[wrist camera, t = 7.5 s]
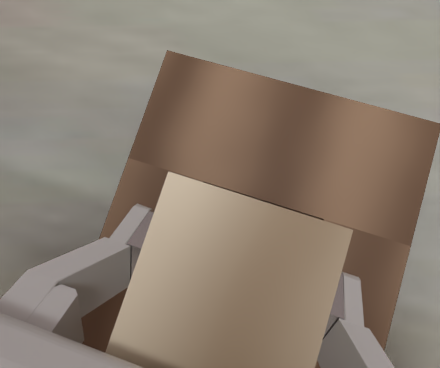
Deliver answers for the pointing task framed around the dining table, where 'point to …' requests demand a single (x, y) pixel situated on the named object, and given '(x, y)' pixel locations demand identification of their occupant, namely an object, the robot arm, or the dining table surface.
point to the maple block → (228, 283)
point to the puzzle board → (283, 168)
